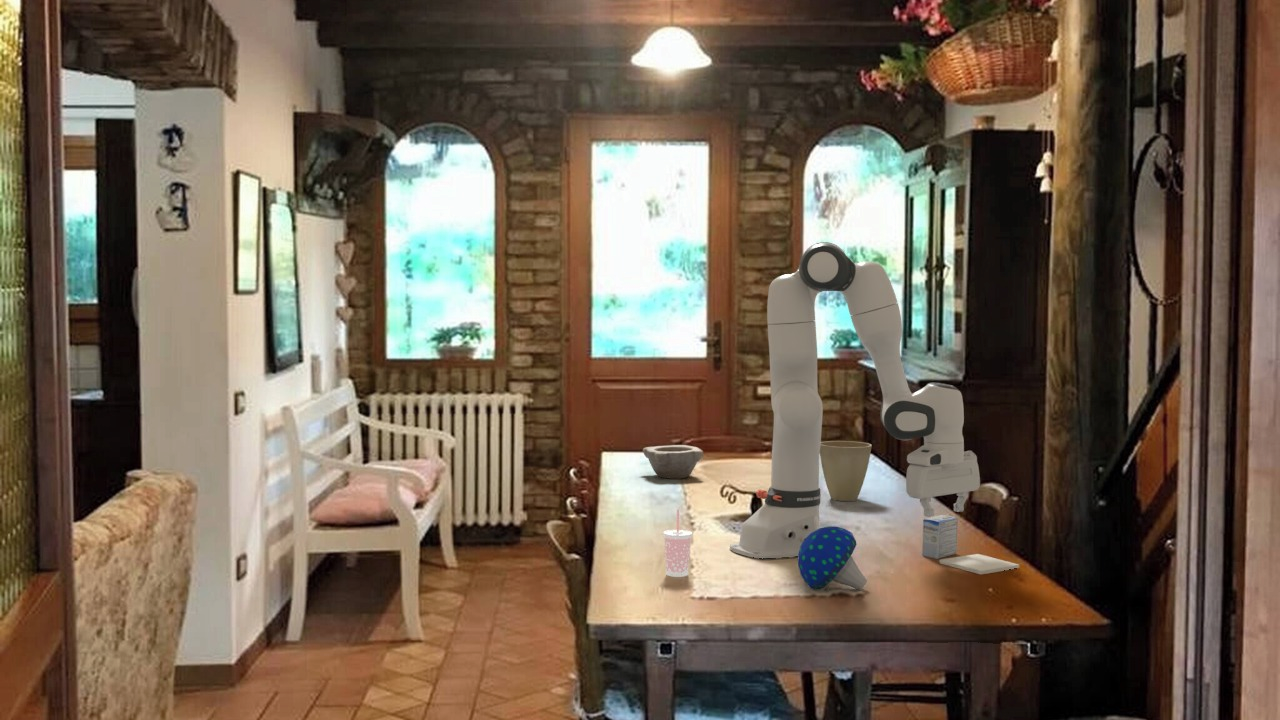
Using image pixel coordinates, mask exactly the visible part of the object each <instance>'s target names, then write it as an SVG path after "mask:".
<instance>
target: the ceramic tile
mask: <svg viewBox="0 0 1280 720" xmlns="http://www.w3.org/2000/svg"><path fill="white" fill-rule="evenodd" d="M939 564H941V565H944V566H947V567H952V568H956V569H959V570H963V571H966V572H969V573H974V574H978V575H985V574H986V575H987V574H991V573H992V574H993V573H998V572H1003V571H1004V570H1005V571H1010V570H1009V569H1011V570H1015V569H1014V568H1017V569H1020V564H1018V563H1014V562H1012V561H1007V560H1003V559H999V558H996V557H995V558H994V557H991V556H989V555H985V554H980V553H975V554H966V555H961V556H955V557H948V558H940V559H939Z"/></svg>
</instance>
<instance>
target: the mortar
mask: <svg viewBox="0 0 1280 720" xmlns="http://www.w3.org/2000/svg"><path fill="white" fill-rule="evenodd" d="M642 453H643V454H644V456H645V458H647V460H648V461H649V464H650V466H651V468H652V470H653V472H654V473H655V474H656V476H657V477H659V478H663V479H672V480H673V479H674V480H676V479H686V478H688V477H689V476H691V474H692V473H693V471H694V469H695V467H696V465H697V463H698V462H700V460H702V458H703V456H704V451H703V450H702V449H701V448H699V447H697V446H693V445H692V446H691V445H686V444H676V445H675V444H673V445H671V444H670V445H657V446H646V447H644V448H642Z"/></svg>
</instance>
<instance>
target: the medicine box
mask: <svg viewBox="0 0 1280 720" xmlns="http://www.w3.org/2000/svg"><path fill="white" fill-rule="evenodd" d="M922 520H923V521H922V522H923V524H922V551H921V553H922V554H921V555H922V557H927V558H931V559H935V560H940V559H943V558H946V557H948V556H952V555H955V554H957V550H958V549H957V548H958V526H959V521H958V520H959V518H958V517H956V516H950V515H945V514H940V515H934V516H930V517H927V518H924V519H922Z"/></svg>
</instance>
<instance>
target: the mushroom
mask: <svg viewBox="0 0 1280 720" xmlns="http://www.w3.org/2000/svg"><path fill="white" fill-rule="evenodd" d="M857 545H858V544H857V540H856V538H855V536H854V534H853V532H852V531H850V530H848V529H846V528H842V527H839V526H830V525H829V526H824V527H820V529H818V530H816V531H814V532H812V533H811V534H809V535H808V536H807V538H806V539H805V540H804V542H803V543H802V545H801V546H800V550H799V553H798V557H797V561H798V563H797V565H798V570H799V573H800V576H801V577H802V579H803V581H804V583H805V584H806V585H807V586H808V587H809V588H810V589H812V590H818V591H821V590H823V589H824V588H826V587H827V586H828V585H829V584H831V582H834V583H838V584H841V585H844V586H848V587H851V588H853V589H856V590H857V591H861V590H862V589H863V588H864V587H865V585H866V584H867V581H868V579H867V578H866V577H865V575H864V573H862V571H861V569H860V568H859V566H858V564H857V563H856V561H855V560H854V558H853V557H852V554H853V553H854V551H855V548H856V547H857Z"/></svg>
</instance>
